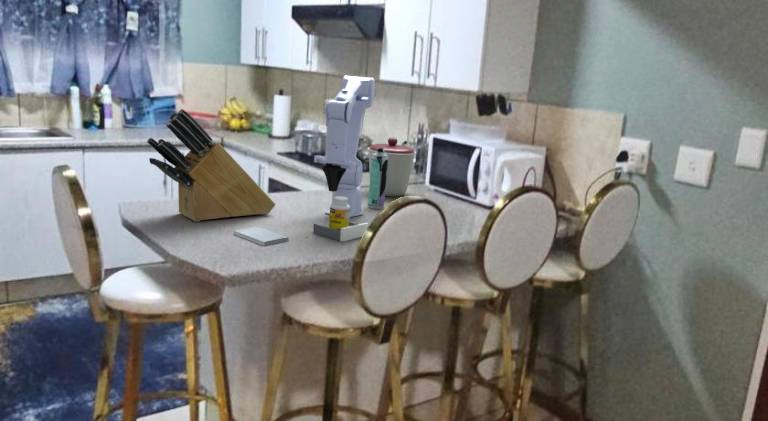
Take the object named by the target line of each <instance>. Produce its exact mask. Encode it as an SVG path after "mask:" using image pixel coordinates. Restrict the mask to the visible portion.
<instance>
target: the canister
mask: <svg viewBox="0 0 768 421" xmlns="http://www.w3.org/2000/svg"><path fill="white" fill-rule="evenodd" d="M378 148H383V151H384V152H385V154H386V155H388V167H387V178H386V189H385V197H399V196H400V197H401V196H404V195H405V194H406V192H407V190H408V187H409V183H410V178H411V174H412V169H413V165H414V158H415V155H416V154H417V151H415V150H414V149H413V148H412V147H409V146H407V145H401V144H398V139H397V138H396V137H394V136H393V137H389V138H388V139H387V143H375V144H372V145H370V146H369V147H367V151H368V165H369V166H368V168H369V174H370V172H371V160H372V154H374V153H376V151H377V150H378Z"/></svg>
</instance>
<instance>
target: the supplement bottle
mask: <svg viewBox="0 0 768 421" xmlns="http://www.w3.org/2000/svg"><path fill="white" fill-rule="evenodd" d="M333 201H334V202H333V203H332V202H331V203H330V205H329V211H330V214H329V216H328V217H329V220H328V227H330V228H333V229H336V230H340V231H341V228H344V227H349V221H350V218H351V217H350V205H348V198H347V197H342V196H336V197H334V200H333Z"/></svg>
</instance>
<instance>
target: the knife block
mask: <svg viewBox="0 0 768 421" xmlns="http://www.w3.org/2000/svg"><path fill="white" fill-rule="evenodd" d="M169 118H170V119H169V121H168V122H166V124H165V126H166V127H167V128H168V129H169V130H170V131H171V132H172V134H174V135H175V137H176V138H177V139H178V140H179V141H180V142H181V143H182V144H184V146H185V147H186V148H188V150H189V151H188V152H187V153H186V154H185V155H184V154H183V153H182V152H181V151H180V150H179V149H178V148H177V147H176V146H175V145H174V144H172V143H171V142H170V141H169V140H168V141H166V140H164V139H159V140H158V141H156V140H155V139H153V138H152V137H150V138H148V139H147V141H146V143H147V144H149V146H151V147H152V148H153V149H154V150H155V151H156V152H157V153H158V154H159V155H160V156H161V157H163V158H164V159H165V160H166V161H167V162H168V163H166V162H164V161H162V160H160V159H156V158H153V157H152V158H151V157H150V158H149V163H150V165H153V166H155V167H156V168H158V169H159V170H160V171H161V172H162V173H164V174H165V175H166V176H168V177H169V178H170V179H172V180H173V181H175V183H178V184H177V185H178V186H177V187H178V188H177V189H178V191H177V192H178V213H179V214H180V215H183V216H185V217H187V218H188V219H190V220H192V221H194V222H196V223H197V222H200V221H205V220H213V219H214V220H215V219H222V218H229V217H241V216H242V217H243V216H244V217H245V216H254V215H260V216H262V215H265V214H269V213H271V211H273V209H274V208H275V206H276V203H275V202H274V200H273V199H272V198H271V197H270V196H269V195H268V194H267V193H266V192H265V191H264V189H262V187H260V185H259V184H258V183H257V182H256V181H255V180H254V179H253V178H252V177H251V176H250V174H248V172H247V170H245V169H244V168H243V167H242V166H241V165H240V164H239V163H238V162H237V160H236V159H234V157H233V156H232V155H231V154H230V153H229V152H228V151H227V150H226V148H224V147H223V146H222V144H221V143H217V142H215V141H214V140H213V138H212V137H211V136H210V135H209V133H207V132H206V131H205V129H204V128H203V127H202V126H201V125H200V124H199V123H198V122H197V120H195V118H194V117H193V116H191V115H190V113H188V112H187V111H186V110H185V109H183V108H182V109H180V110H179V111H178V112H174V113H173V114H171V115H170V117H169Z"/></svg>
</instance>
